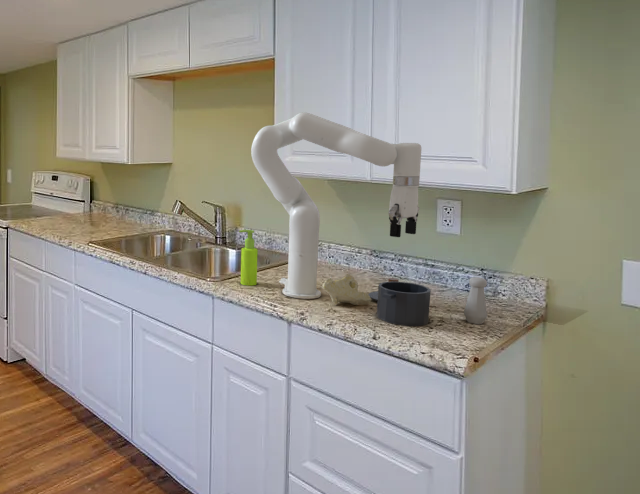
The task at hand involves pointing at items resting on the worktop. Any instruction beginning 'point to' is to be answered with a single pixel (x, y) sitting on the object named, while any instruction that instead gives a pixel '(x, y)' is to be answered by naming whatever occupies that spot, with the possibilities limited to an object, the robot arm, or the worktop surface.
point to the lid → (375, 294)
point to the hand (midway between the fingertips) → (402, 235)
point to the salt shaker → (476, 301)
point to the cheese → (345, 291)
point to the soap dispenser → (249, 261)
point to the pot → (403, 303)
